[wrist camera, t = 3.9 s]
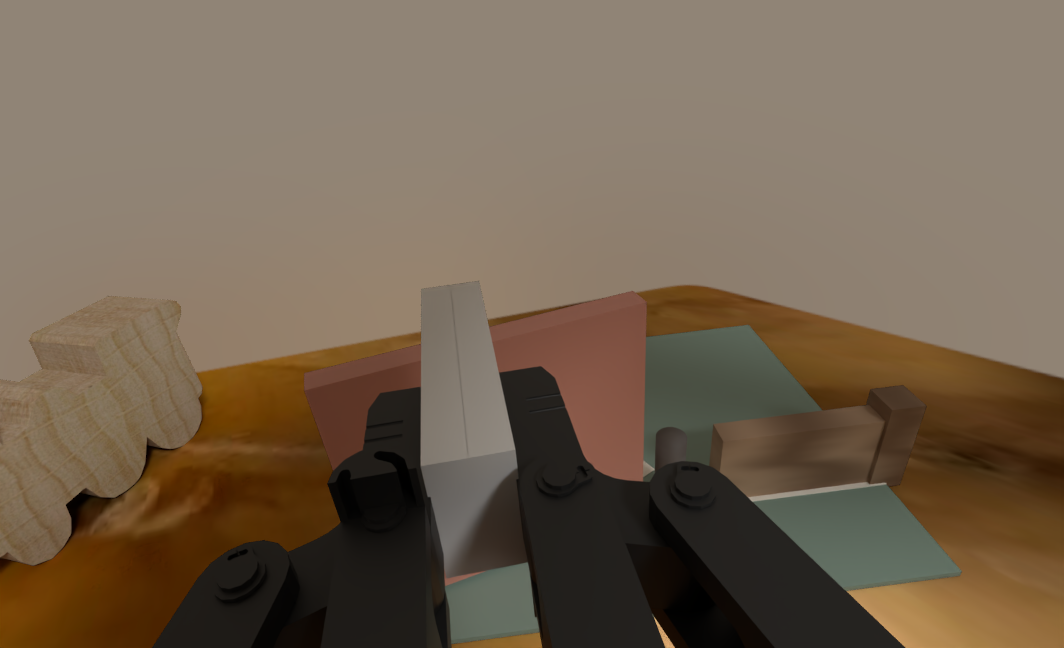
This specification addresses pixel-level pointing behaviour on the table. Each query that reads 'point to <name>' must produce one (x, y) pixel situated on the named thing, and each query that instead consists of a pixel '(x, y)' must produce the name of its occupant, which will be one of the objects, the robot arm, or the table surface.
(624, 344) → the gate panel
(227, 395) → the table surface
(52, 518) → the toy train
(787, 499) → the card
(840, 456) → the fence wall
